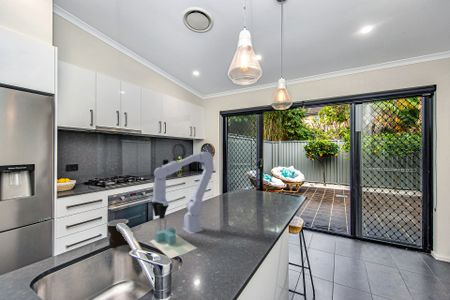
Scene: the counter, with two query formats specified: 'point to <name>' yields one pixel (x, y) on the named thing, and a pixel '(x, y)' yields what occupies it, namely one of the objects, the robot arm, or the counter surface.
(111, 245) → the coffee mug
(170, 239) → the tee block
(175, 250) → the mat
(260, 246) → the counter surface
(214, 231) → the counter surface
